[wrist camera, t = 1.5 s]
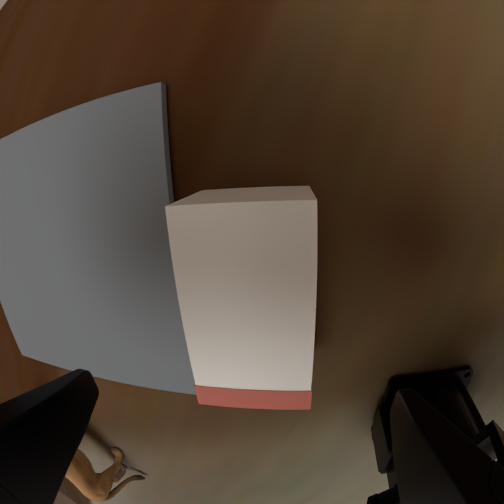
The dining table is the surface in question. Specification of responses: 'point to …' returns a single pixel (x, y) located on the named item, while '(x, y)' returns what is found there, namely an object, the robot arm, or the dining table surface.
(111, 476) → the lion figurine
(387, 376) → the dining table surface
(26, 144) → the mat
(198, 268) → the beige rectangular block
